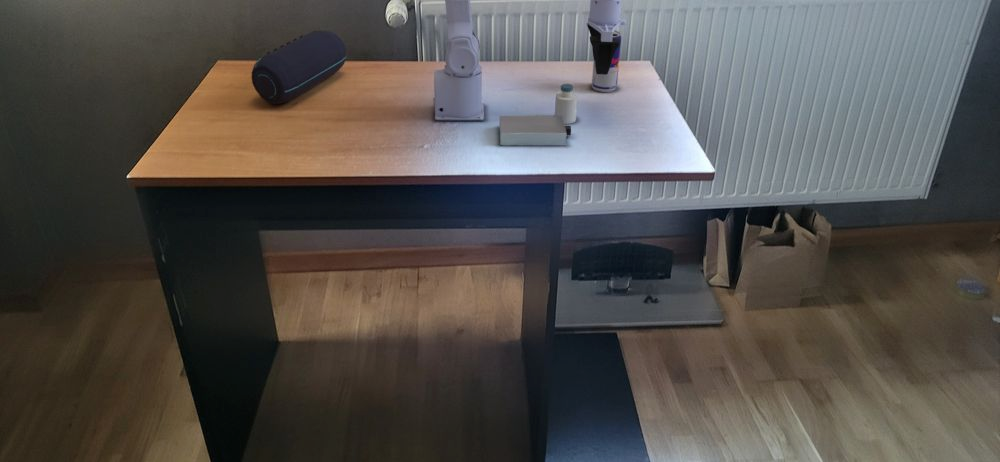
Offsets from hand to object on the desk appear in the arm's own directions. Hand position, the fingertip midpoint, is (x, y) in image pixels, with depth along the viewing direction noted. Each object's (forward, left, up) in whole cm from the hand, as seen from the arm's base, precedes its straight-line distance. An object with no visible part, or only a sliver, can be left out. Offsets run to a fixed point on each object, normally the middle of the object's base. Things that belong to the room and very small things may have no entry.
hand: (600, 66), depth 154 cm
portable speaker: (-61, +14, -10) cm, 63 cm away
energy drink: (+4, +14, -10) cm, 18 cm away
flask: (-13, -11, -10) cm, 20 cm away
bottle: (-6, -3, -10) cm, 12 cm away
